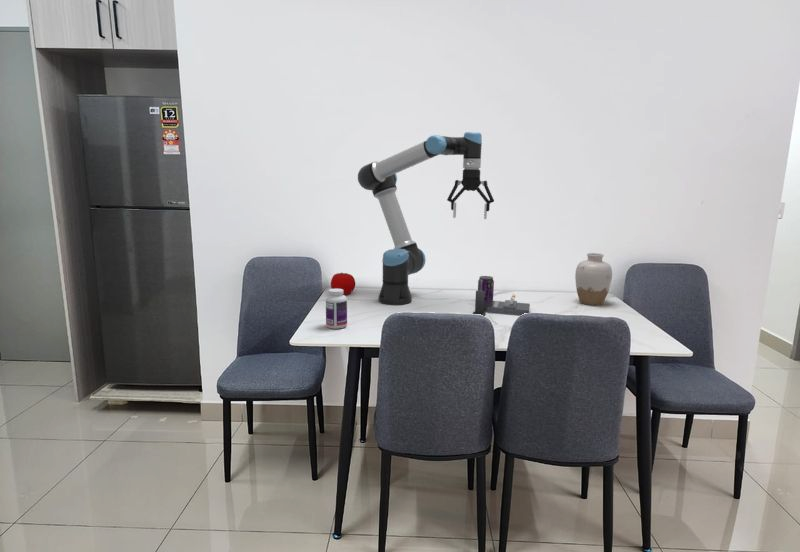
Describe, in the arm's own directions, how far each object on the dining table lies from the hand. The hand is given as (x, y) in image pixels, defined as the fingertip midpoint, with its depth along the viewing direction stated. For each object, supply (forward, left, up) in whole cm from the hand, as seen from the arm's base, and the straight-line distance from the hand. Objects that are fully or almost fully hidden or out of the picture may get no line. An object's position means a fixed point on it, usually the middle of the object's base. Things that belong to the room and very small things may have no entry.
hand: (469, 218), depth 235 cm
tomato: (-60, 0, -39) cm, 72 cm away
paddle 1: (+20, -4, -35) cm, 41 cm away
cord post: (+8, -17, -39) cm, 43 cm away
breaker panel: (+17, -7, -39) cm, 43 cm away
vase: (+55, +20, -39) cm, 70 cm away
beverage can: (+8, +4, -39) cm, 40 cm away
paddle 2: (+20, -10, -35) cm, 42 cm away
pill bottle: (-42, -52, -39) cm, 77 cm away
